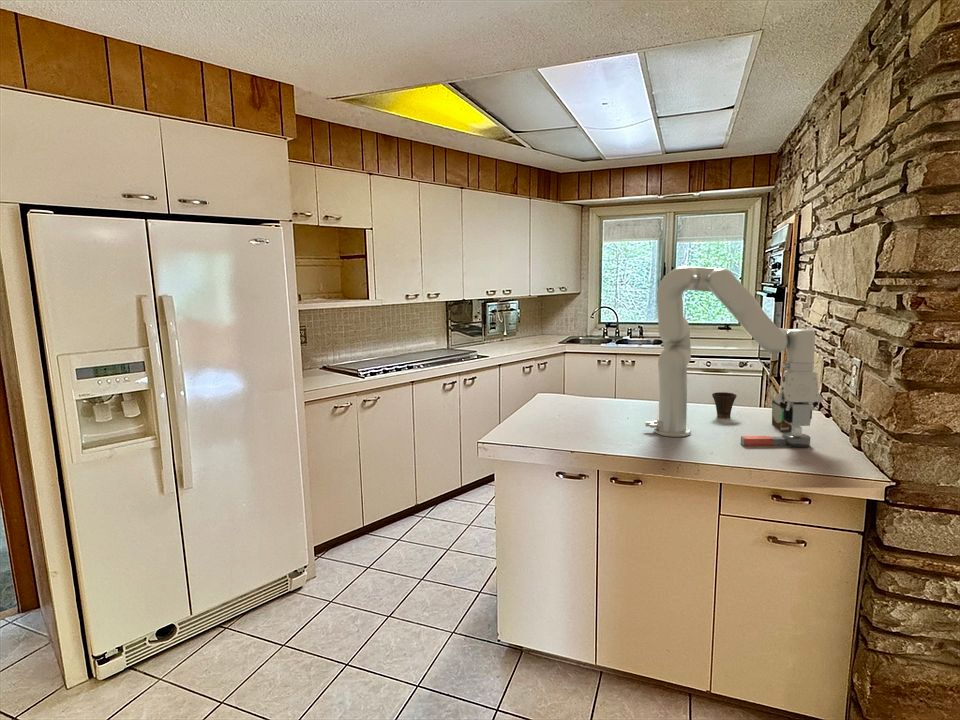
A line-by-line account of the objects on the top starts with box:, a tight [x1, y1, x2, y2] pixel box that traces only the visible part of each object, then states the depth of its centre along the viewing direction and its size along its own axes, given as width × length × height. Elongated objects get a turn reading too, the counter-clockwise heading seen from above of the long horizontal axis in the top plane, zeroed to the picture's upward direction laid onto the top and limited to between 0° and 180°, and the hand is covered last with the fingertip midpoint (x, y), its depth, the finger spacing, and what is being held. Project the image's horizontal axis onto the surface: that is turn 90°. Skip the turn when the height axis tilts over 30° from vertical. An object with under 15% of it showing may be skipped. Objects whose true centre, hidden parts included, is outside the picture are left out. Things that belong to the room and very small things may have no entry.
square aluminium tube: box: [785, 403, 811, 427], centre depth 175 cm, size 5×5×7 cm
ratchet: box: [740, 426, 811, 450], centre depth 177 cm, size 21×8×6 cm, turn 84°
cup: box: [711, 391, 737, 419], centre depth 212 cm, size 9×9×10 cm
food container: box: [771, 397, 792, 433], centre depth 194 cm, size 12×6×10 cm, turn 168°
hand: (797, 420), depth 176 cm, fingers closed on square aluminium tube, 5 cm apart
